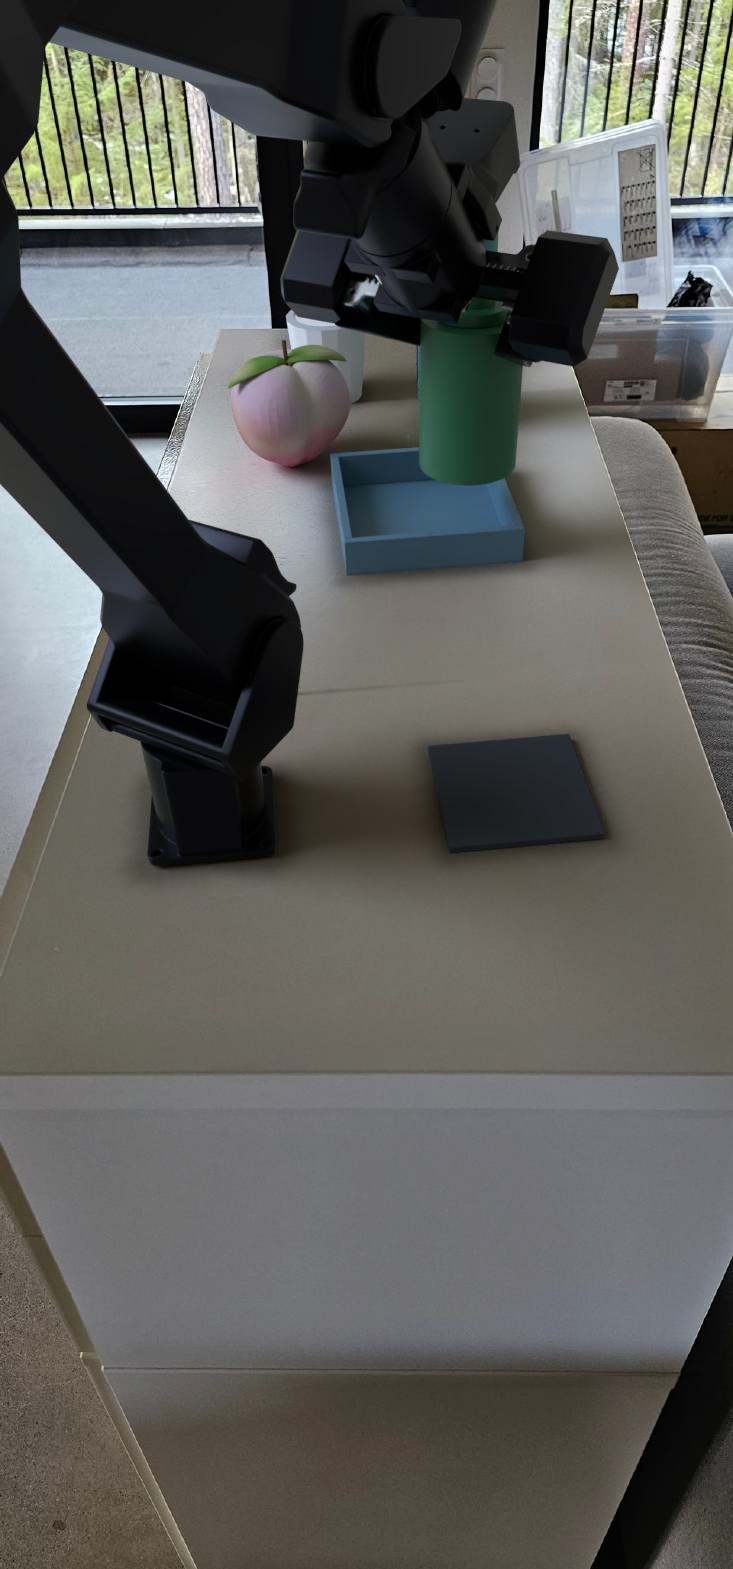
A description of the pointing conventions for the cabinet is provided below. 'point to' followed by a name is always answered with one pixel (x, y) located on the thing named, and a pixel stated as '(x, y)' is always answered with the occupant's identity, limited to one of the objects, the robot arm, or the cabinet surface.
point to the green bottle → (467, 398)
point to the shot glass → (332, 347)
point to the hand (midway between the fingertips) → (481, 350)
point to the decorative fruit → (290, 403)
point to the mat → (513, 793)
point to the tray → (418, 516)
